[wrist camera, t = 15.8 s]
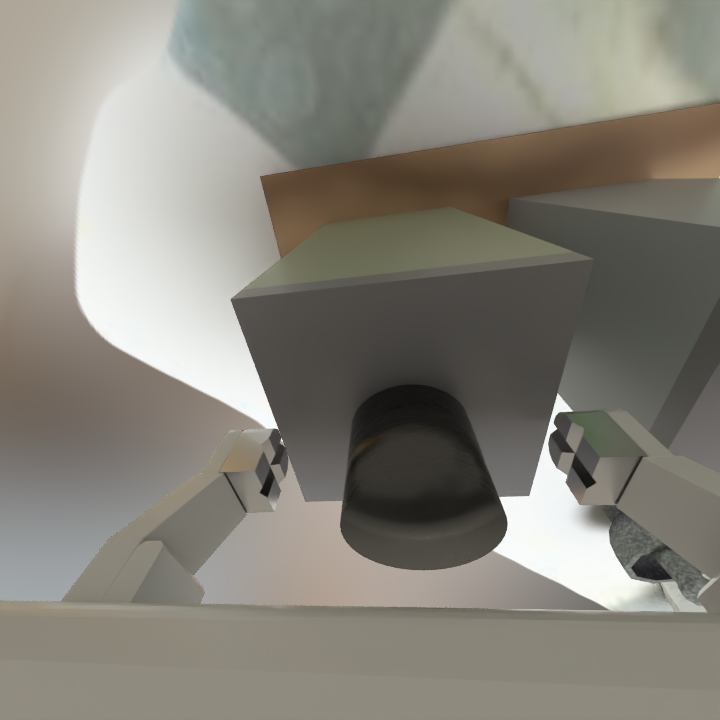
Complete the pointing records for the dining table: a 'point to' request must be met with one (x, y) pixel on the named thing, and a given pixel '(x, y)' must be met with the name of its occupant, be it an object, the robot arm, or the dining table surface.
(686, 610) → the supplement box
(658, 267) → the grey block
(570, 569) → the dining table surface
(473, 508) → the black plunger knob
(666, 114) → the walnut board
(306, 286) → the olive slotted block
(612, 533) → the mortar and pestle
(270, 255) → the dining table surface
